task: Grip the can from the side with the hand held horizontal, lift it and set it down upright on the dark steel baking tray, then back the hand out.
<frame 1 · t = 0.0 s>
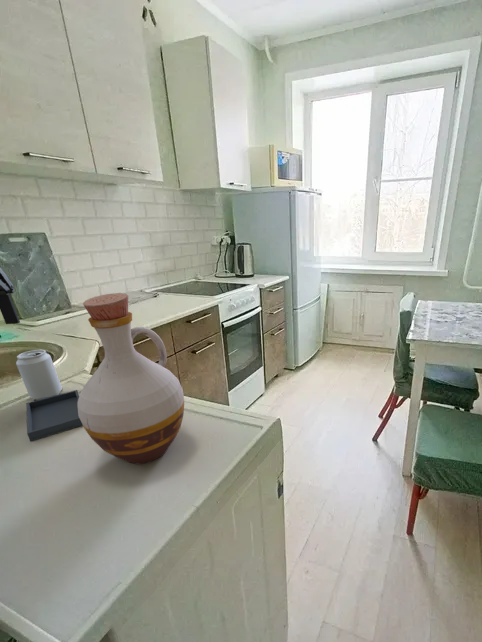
can: (47, 395, 95), on the countertop
jug: (149, 449, 70), on the countertop
tray: (57, 416, 84), on the countertop
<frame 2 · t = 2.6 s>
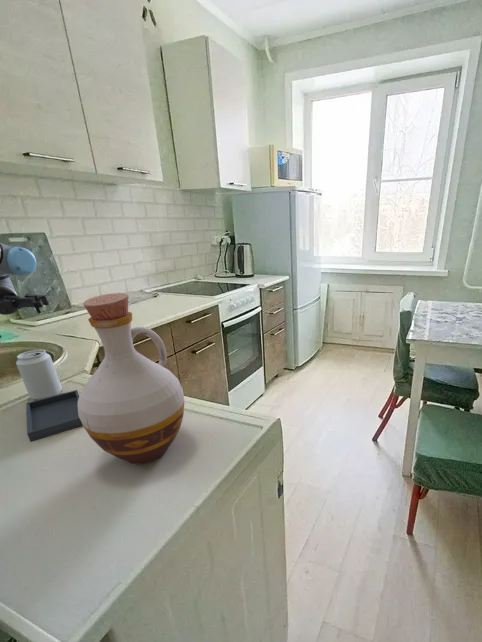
hand: (6, 314, 89), 21 cm above the countertop, tool horizontal, fingers open, 13 cm apart
nothing on the countertop moved.
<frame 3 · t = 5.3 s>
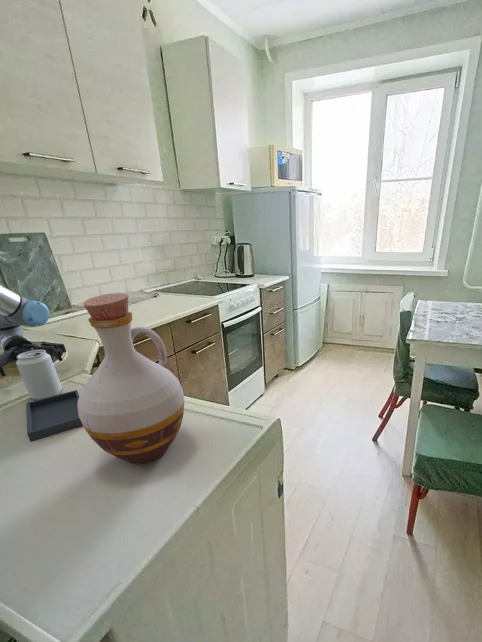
hand: (32, 363, 96), 7 cm above the countertop, tool horizontal, fingers open, 13 cm apart
nothing on the countertop moved.
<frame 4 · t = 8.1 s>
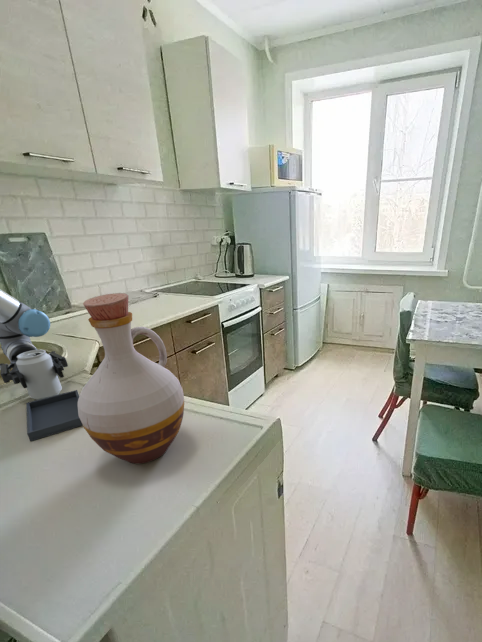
hand: (42, 377, 88), 7 cm above the countertop, tool horizontal, fingers closed on can, 7 cm apart
can: (47, 395, 95), on the countertop, touching gripper
everything else where it was.
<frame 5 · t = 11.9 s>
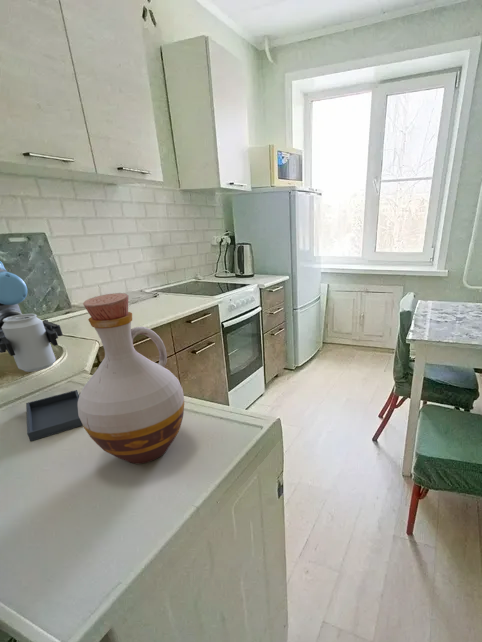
hand: (33, 344, 76), 18 cm above the countertop, tool horizontal, fingers closed on can, 7 cm apart
can: (38, 367, 82), point 11 cm above the countertop, touching gripper
everything else where it was.
when the fingers open (7 cm above the countertop, at t = 16.0 s): can stays where it is, resting on tray.
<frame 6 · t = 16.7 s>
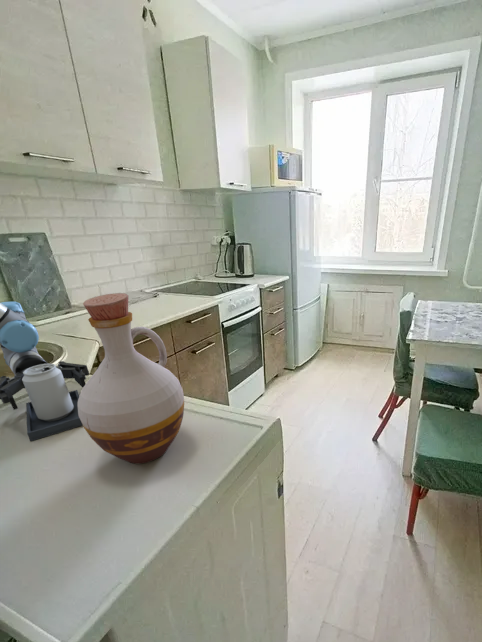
hand: (50, 392, 78), 8 cm above the countertop, tool horizontal, fingers open, 13 cm apart
can: (57, 415, 83), resting on tray
everything else where it was.
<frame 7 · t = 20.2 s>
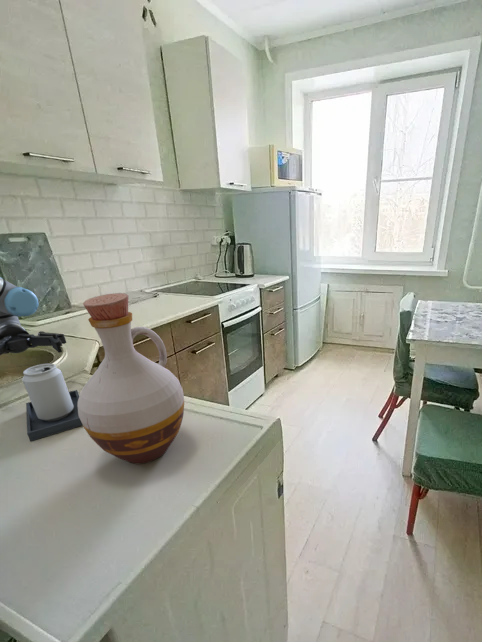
hand: (27, 354, 86), 13 cm above the countertop, tool horizontal, fingers open, 13 cm apart
nothing on the countertop moved.
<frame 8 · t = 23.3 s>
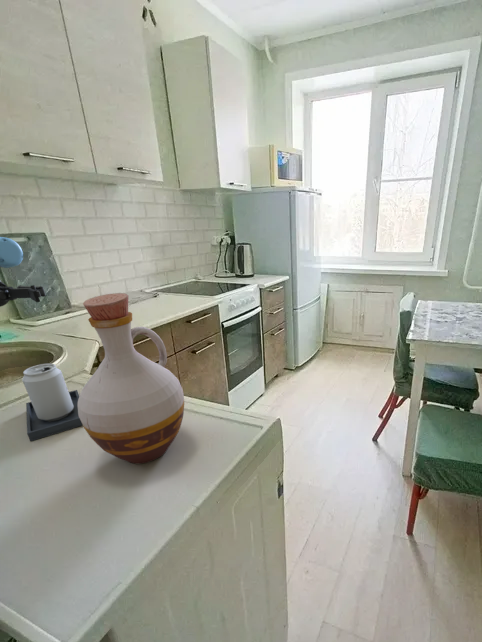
hand: (3, 301, 84), 25 cm above the countertop, tool horizontal, fingers open, 13 cm apart
nothing on the countertop moved.
at the end: can 0.0 cm from the tray (horizontally); can resting on tray; can tilted 0° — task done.
